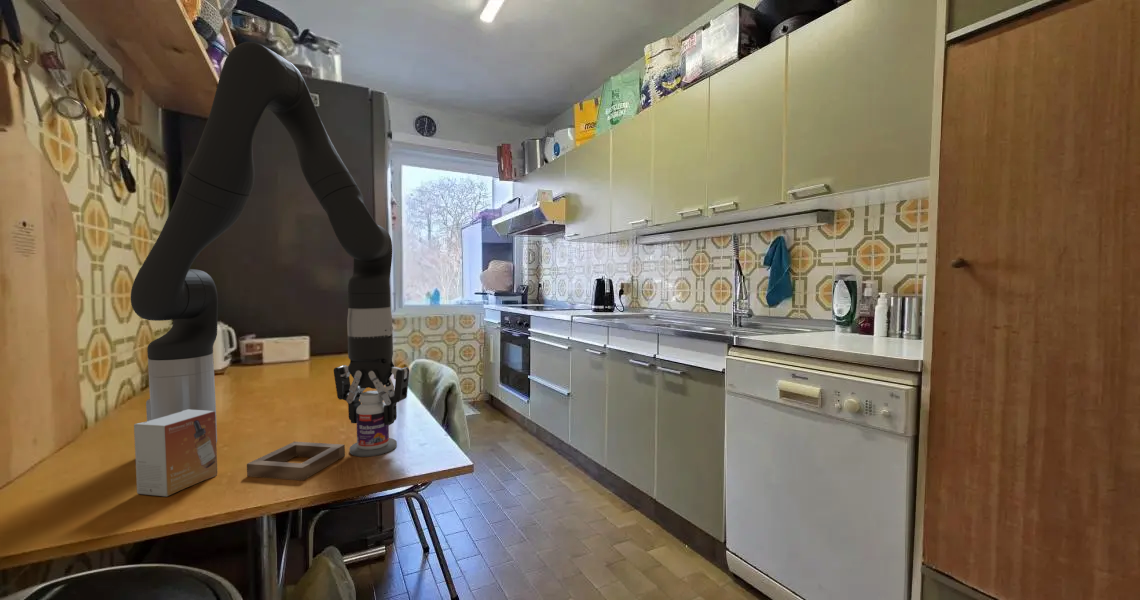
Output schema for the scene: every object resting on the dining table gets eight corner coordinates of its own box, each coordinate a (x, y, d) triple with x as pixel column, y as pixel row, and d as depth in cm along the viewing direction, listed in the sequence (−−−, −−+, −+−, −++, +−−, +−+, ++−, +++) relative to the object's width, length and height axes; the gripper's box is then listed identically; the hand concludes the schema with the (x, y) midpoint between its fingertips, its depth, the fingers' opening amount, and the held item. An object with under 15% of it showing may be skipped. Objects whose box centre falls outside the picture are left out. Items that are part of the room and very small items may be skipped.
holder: (247, 476, 73) (246, 463, 73) (294, 452, 83) (294, 441, 83) (303, 480, 71) (302, 467, 71) (344, 455, 81) (344, 444, 81)
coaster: (339, 455, 81) (339, 452, 81) (366, 439, 89) (366, 436, 89) (381, 458, 80) (381, 454, 80) (405, 441, 88) (404, 438, 88)
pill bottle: (356, 452, 81) (354, 398, 80) (358, 442, 86) (356, 391, 85) (389, 448, 83) (387, 395, 82) (389, 438, 88) (387, 388, 87)
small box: (166, 498, 66) (162, 426, 65) (135, 494, 67) (131, 423, 66) (219, 474, 74) (216, 410, 73) (191, 472, 75) (188, 408, 74)
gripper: (320, 334, 81) (323, 427, 82) (395, 335, 79) (398, 432, 79) (347, 329, 88) (350, 415, 89) (417, 330, 86) (419, 418, 87)
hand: (372, 422), depth 84 cm, fingers open, 6 cm apart
